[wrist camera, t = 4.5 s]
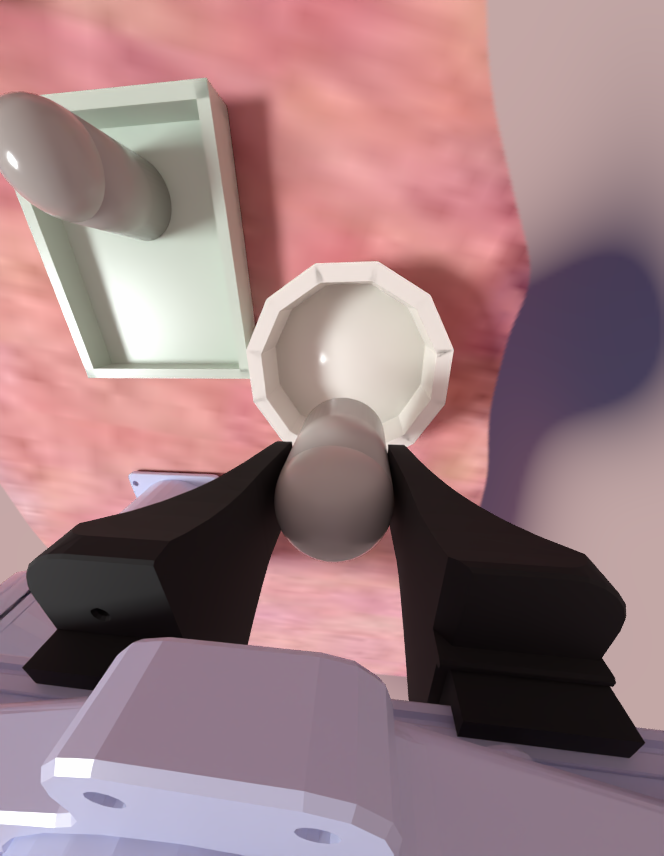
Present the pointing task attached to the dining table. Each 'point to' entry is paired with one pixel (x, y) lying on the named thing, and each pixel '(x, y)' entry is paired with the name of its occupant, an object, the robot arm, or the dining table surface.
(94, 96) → the tray
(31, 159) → the stone
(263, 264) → the dining table surface
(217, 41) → the dining table surface
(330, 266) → the bowl
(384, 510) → the stone
